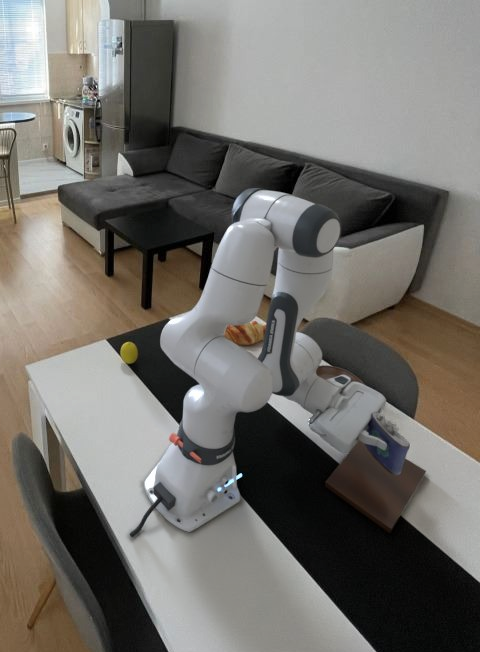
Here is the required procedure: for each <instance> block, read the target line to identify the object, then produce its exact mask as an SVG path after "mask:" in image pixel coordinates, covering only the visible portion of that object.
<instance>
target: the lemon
mask: <svg viewBox="0 0 480 652" xmlns="http://www.w3.org/2000/svg"><path fill="white" fill-rule="evenodd" d="M138 356H139V351H138V348H137V346H136V344H135V343H133V342H132V341H127V342H124V343H123V344H122V345H121V348H120V358H121V360H122V361H123V362H124V363H125V364H129V365H131V364H134V363H135V362H136V361H137V359H138Z"/></svg>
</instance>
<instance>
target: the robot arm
mask: <svg viewBox="0 0 480 652" xmlns="http://www.w3.org/2000/svg"><path fill="white" fill-rule="evenodd" d="M230 217H231V224H230V225H229V226H228V228H227V229H226V231H225V232H224V234H223V236H222V238H221V241H220V242H219V244H218V247H217V249H216V251H215V255H214V257H213V260H212V263H211V266H210V269H209V273H208V277H207V279H206V281H205V284H204V287H203V290H202V293H201V295H200V298H199V300H198V301H197V303H196V304H195V306H193V308H192V309H191V310H190V311H188V312H186V313H185V314H183V315H179V316H176V317H173V318H172V319H170V320H168V322H167V323H166V324H165V325H164V326H163V329H162V331H161V333H160V339H159V343H160V348H161V350H162V351H163V353H164V354H165V355H166V357H168V359H169V360H170V361H171V362H172V363H173V364H174V365H175V366H176V367H177V368H178V369H180V370H182V371H183V372H184V373H185V374H186V375H188V376H189V377H191V378H192V379H194V380H195V381H196V382H197V383H198V384H196V385H194V386H191V387H190V388H189V390H187V391H186V393H185V395H184V398H183V402H182V403H183V404H182V417H181V421H180V423H179V426H178V430H177V433H175V432H172V433H171V434H170V435H169V437H168V441H169V442H170V445H169V446H168V448H167V450H166V451H165V452H164V454H163V456H162V458H161V459H160V461H158V463H157V464H156V465H155V467H154V468H153V470H151V473H149V475H148V476H147V477H146V479H145V480H144V484H143V486H144V491H145V494H146V496H147V498H148V500H149V501H150V503H151V504H152V505H151V506H150V507H149V508H148V509H147V510H146V512H145V513H144V515H143V516H142V518H141V520H140V522H139V524H138V525H137V526H136V528H134V529H133V530H132V531H131V532H129V536H130V538H133V537H135V536H136V535H137V534H139V532H140V531H141V530H142V529H143V527H144V525H145V524H146V522H147V519H148V518H149V516H150V515H151V514H152V512H153V511H154V510H155V509H156V510H157V512H158V513H159V514H160V515H161V516H163V518H165V519H166V520H167V521H168V522H169V523H170V524H171V525H173V526H175V527H176V528H177V529H179V530H182V531H184V532H187V533H190V532H193V531H195V530H196V529H198V528H200V527H201V526H203V525H204V524H206V523H208V522H209V521H211V520H213V519H214V518H215V517H217V516H219V515H220V514H222V513H224V512H226V511H227V510H229V509H230V508H232V507H233V506H235V505H237V504H238V503H239V502H240V501H241V493H240V490H239V488H238V484H237V483H238V481H237V480H238V479H240V478H242V477H243V474H242V473H239V474H238V475H237V464H236V461H235V456H234V449H235V443H236V433H235V427H234V426H235V422H236V416H237V413H252V412H256V411H258V410H261V409H262V408H263V407H265V406H266V405H267V403H268V402H269V401H270V399H271V397H272V395H275V396H279V397H283V398H285V399H287V400H288V401H291V402H294V403H297V404H298V405H299V406H300V407H301V408H302V409H303V410H304V411H306V412H308V413H310V414H311V415H312V416H311V417H309V418H308V420H307V423H308V427H309V430H311V431H312V432H314V433H315V434H317V435H318V436H319V437H320V438H321V439H322V440H323V441H325V442H326V443H327V444H328V445H329V446H330V447H333V449H335V450H336V451H337V452H339V453H341V454H345V455H348V453H349V452H350V451H351V450H352V449H353V447H354V446H355V445H356V444H357V442H358V441H359V440H360V441H361V442H363V443H365V444H369V445H374V446H377V447H379V448H381V449H382V450H386V448H387V447H388V444H389V441H388V440H386V439H384V438H383V437H381V436H380V437H379V438H377V437H374V436H371V435H369V433H368V432H366V431H367V430H368V428H369V425H368V424H369V422H370V420H371V414H372V413H373V412H378V413H380V414H382V412H383V411H384V409H385V407H386V404H387V398H386V397H385V396H384V395H383V394H382V393H381V392H379V391H377V390H375V389H373V388H371V387H369V386H367V385H366V384H364V385H363V384H361V383H359V382H351V378H350V377H348V376H346V375H340V376H337V377H334V378H330V379H326V380H324V379H323V378H321V377H319V376H317V375H316V370H317V369H318V367H319V366H321V363H322V361H323V358H324V357H323V356H324V355H323V351H322V348H321V346H320V343H318V342H317V341H316V340H315V338H313V337H311V336H310V334H309V335H308V334H306V333H304V332H300V331H298V329H299V326H300V324H301V322H302V321H303V320H304V318H305V317H306V315H308V313H309V312H310V311H311V309H313V307H314V306H315V305H316V304H317V303H318V302H319V301H320V300H321V299H322V298H323V297H324V295H325V294H326V292H327V291H328V289H329V285H330V283H331V279H332V275H333V267H334V266H333V265H334V249H335V247H336V246H337V244H338V243H339V241H340V239H341V235H342V222H341V219H340V217H339V215H338V213H337V212H336V211H334V210H333V209H332V208H329V207H327V206H326V205H324V204H321V203H314V202H312V201H309V200H306V199H303V198H301V197H298V196H295V195H293V194H290V193H286V192H281V191H276V190H268V189H266V188H262V187H252V188H247V189H245V190H243V191H242V192H241V193H240V194H239V195H238V196H237V197H236V199H235V200H234V202H233V205H232V207H231V216H230ZM277 249H278V252H277V262H276V263H277V264H276V274H275V280H274V281H275V282H274V286H273V291H272V296H271V299H270V303H269V307H268V313H267V317H266V323H265V325H266V329H265V335H264V340H263V343H262V348H261V351H260V354H259V355H258V357H256V356H255V355H254V354H253V353H251V352H250V351H248V350H247V349H245V348H243V347H242V346H241V345H238V344H235V343H233V342H232V341H230V340H229V339H227V338H226V337H225V336H224V333H225V330H226V328H227V326H228V325H244V324H247V323H252V322H253V321H254V320H255V318H256V317H257V316H258V314H259V310H260V308H261V304H262V301H263V299H264V295H265V291H266V289H267V286H268V282H269V278H270V275H271V272H272V266H273V261H274V254H275V251H276V250H277ZM382 415H383V414H382ZM383 416H384V417H385V415H383ZM385 419H386V420H387V422H388V421H389V420H388V419H387V418H386V417H385ZM394 429H395V430H396V431H397V432H398V433H399V427H398V426H397V425H396V426H394Z"/></svg>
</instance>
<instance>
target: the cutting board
mask: <svg viewBox="0 0 480 652" xmlns="http://www.w3.org/2000/svg"><path fill="white" fill-rule="evenodd" d="M426 473H427V470H426V469H424V468H422V467H420V466H419V465H417V464H415V463H414V462H413V461H411V460H409V459H407V458H405V461H404V464H403V467H402V470H401V473H400V475H397V474H396V475H397V476H395V475H392V474H391V473H390V472H388V471H387V470H386V469H385V468H384V467H383V466H382V465H381V464H380V463H379V462H378V461H377V460H376V459H375V458H374V457H373V456H372V455H371V454H370V453H369V451H368V450H367V448H366V447H365V446H364V444H363V442H361V441H360V440H359V441H358V442H357V444H356V445H355V446H354V447H353V449H352V450H351V451H350V452H349V453H348V454H346V456H345V457H344V458H343V460H342V461H341V462H340V463H339V464H338V466H337V467H336V468H335V469H334V471H333V472H332V473H331V474H330V475H329V477H328V478H327V479H326V481H325V484H324V487H325V488H326V489H328V490H329V491H330V492H332V493H333V494H334V495H336V496H337V497H339V498H340V499H341V500H342V501H344V502H346V503H347V504H348V505H350V506H351V507H353V508H354V509H355V510H357V511H358V512H359V513H361V514H363V515H364V516H365V517H367V519H369V520H370V521H372V522H373V523H375V524H376V525H377V526H379V527H380V528H381V529H383V530H384V531H386V532H387V533H388V534H391V533H392V531H393V530H394V528H395V526H396V524H397V523H398V522H399V520H400V518H401V516H402V515H403V513H404V512H405V510H406V508H407V506H408V505H409V503H410V501H411V499H412V498H413V497H414V495H415V493H416V491H417V489H418V488H419V486H420V485H421V483H422V481H423V479H424V478H425V476H426Z"/></svg>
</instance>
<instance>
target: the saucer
mask: <svg viewBox="0 0 480 652" xmlns="http://www.w3.org/2000/svg"><path fill="white" fill-rule="evenodd" d="M316 375H317V376H319V377H321V378H323V379H324V380H326V379H330V378H334V377H337V376H340V375H346V376H348V377H350V378H351V382H359V383H361V384H363V385H365V383H364V381H362V380H361V379H360V378H359V377H358V376H356V375H355V374H354V373H352V372H350V371H348V370H346V369H344V368H342V367H338V366H333V365H326V364H324V365H319V367H318V369H317V370H316Z"/></svg>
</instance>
